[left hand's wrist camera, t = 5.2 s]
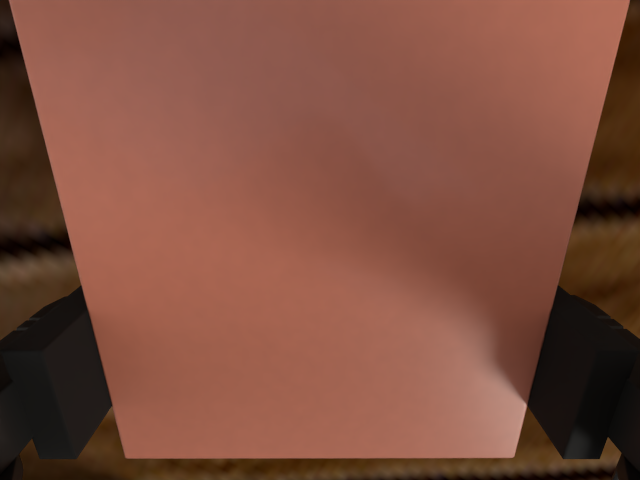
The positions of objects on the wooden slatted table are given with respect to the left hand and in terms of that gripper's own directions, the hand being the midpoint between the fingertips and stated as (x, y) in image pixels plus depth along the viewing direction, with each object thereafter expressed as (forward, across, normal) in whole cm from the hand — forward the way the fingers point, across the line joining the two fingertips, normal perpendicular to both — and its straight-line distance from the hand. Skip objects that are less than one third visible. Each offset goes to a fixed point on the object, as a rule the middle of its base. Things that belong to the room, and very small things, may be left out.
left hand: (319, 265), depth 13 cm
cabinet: (+4, 0, -7) cm, 8 cm away
